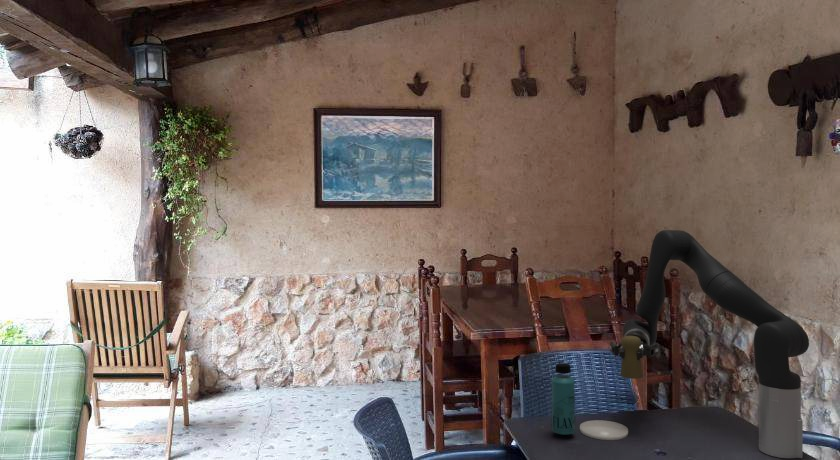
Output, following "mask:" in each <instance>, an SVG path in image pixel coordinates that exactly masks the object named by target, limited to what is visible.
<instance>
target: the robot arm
mask: <svg viewBox="0 0 840 460" xmlns="http://www.w3.org/2000/svg"><path fill="white" fill-rule="evenodd" d="M670 261H679V262H683V263H684V264H685V265H686V266H687V267H689V268H690V269H691V270H692V271H693V272H694V273H695V274H696V277H697V280H698V283H699V284H698V285H699V286H700V289H701V290H702V291H703V293H704V294H705V295H706V296H707V297H708V298H710V300H712V301H713V302H714V304H716V305H717V306H719V307H720V308H721V309H723V310H725V311H727V312H728V313H731V314H732V315H735V316H737V317H739V318H741V319H743V320H746V321H747V322H750V323H751V324H753V325H754V326H756V327H757V328H756V329H755V332H754V335H753V352H754V367H755V368H754V369H755V372H756V374H757V377H758V450H759V451H760V452H761V453H763V454H766V455H768V456H771V457H774V458H781V459H803V449H804V448H803V445H804V444H803V443H804V442H803V419H802V410H801V409H802V400H801V399H802V392H801V391H802V381H801V379H802V378H801V376H800V374H798V373H797V372H794V371H792V370H791V369H790V358H795V357H799V356H801V355H803V354H805V353H806V352H807V351H808V349H809V346H810V340H809V337H808V336H809V335H808V334H807V332H806V330H805V329H804V328H803V327H802V326H801V325H800V324H799V323H797V322H796V321H795V320H793V319H792V318H790V317H789V316H787V315H786V314H784V313H783V312H782V311H780V310H779V309H777V308H776V307H775V306H773V305H772V304H770V303H768V302H767V301H766V300H765V299H764V298H763V297H761V295H759V294H758V293H757V292H755V290H753V289H752V288H750V287H749V286H748V285H747V284H746V283H745V282H744V281H742V280H741V278H739V277H738V276H737V275H736V274H735V273H733V272H732V271H731V270H730V269H728V268H727V267H726V266H724V265H723V264H722V263H721V262H720V261H718V260H717V259H716V258H715V257H714V256H712V255H711V254H710V253H709V252H708V251H707V249H705V248H704V247H703V246H702V245H701V243H699V242H698V240H697V239H695V237H694V236H693V235H691V234H690V233H689V232H687V231H685V230H677V229H673V230H671V229H664V230H660V231H658V232H657V233H656V234H655V236H654V237H653V240H652V244H651V248H650V253H649V260H648V265H647V270H646V277H645V282H644V284H643V285H644V286H643V289H642V293H641V295H640V297H639V301H638V302H637V306H636V310H635V312H636V314H637V316H639V317H640V318H641V319H643V320H645V321H646V322H643V321H640V320H638V319H635V318H630V319H628V320H627V321H625V323H624V324H623V326H622V336H623V337H625V336H636V337H638V338H640V340H641V347H640V348H639V351H637V360H640V359H641V360H642V359H643V358H645V357H646V358H648V359H649V358H652V357H654V356H657V355H659V345H657V344H655V343H656V341H657V339H658V323H659V322H658V321H659V317H660V314H661V312H662V308H663V306H664V303H665V300H666V292H667V291H666V284H665V272H666V269H667V266H668V264H669V262H670ZM623 337H622V338H623ZM623 349H624V348H623V346H622V344H621V342H619V343H618V344H617V342H616V343H615V342H612V341H611V342H609V351H610V352H611V353H612V354H613V355H614V356H618V357H619V358H621V360H622V359H624V350H623Z"/></svg>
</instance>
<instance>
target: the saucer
mask: <svg viewBox="0 0 840 460" xmlns="http://www.w3.org/2000/svg"><path fill="white" fill-rule="evenodd" d="M579 432H580V433H581V434H582V435H584V436H586V437H588V438H590V439H596V440H602V441H616V440H617V441H618V440H619V441H620V440H622V439H626V438H627V437H628V436H629V429H628V427H627V426H625V425H624V424H621V423H620V422H615V421H609V420H602V419H601V420H599V419H595V420H594V419H593V420H587V421H584V422H582V423H580V425H579Z"/></svg>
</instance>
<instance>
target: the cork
mask: <svg viewBox="0 0 840 460" xmlns="http://www.w3.org/2000/svg"><path fill="white" fill-rule="evenodd" d="M620 343H621V344H622V346H623V348H624V349H623V350H624V359H622V358H621V360H622V361H621V367H620V368H621V369H620V373H619V374H620V375H619V376H620V377H622V378H626V379H634V380H635V379H642V378H643V377H644V372H643V366H642V358H641V359H640V360H637V351H639V348H640V347H641V340H640V338H638V337H636V336H625V337H622V338H621V341H620Z"/></svg>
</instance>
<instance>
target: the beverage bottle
mask: <svg viewBox="0 0 840 460" xmlns="http://www.w3.org/2000/svg"><path fill="white" fill-rule="evenodd" d="M571 371H572V370H571V364H569V363H565V362H559V363H556V365H555V370H554V372H555V373H557V374H556V375H555V376H554V377H552V379H551V415H550V416H551V424H550V425H551V426H550V427H551V429H552V432H553V433H555V434H558V435H572V434H574V433H575V430H576V414H575V413H576V412H575V411H576V409H575V405H576V404H575V403H576V393H575V383H576V382H575V381H576V380H574V378H573V377H572V376H571V375H569V374H570V373H572V372H571Z"/></svg>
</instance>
